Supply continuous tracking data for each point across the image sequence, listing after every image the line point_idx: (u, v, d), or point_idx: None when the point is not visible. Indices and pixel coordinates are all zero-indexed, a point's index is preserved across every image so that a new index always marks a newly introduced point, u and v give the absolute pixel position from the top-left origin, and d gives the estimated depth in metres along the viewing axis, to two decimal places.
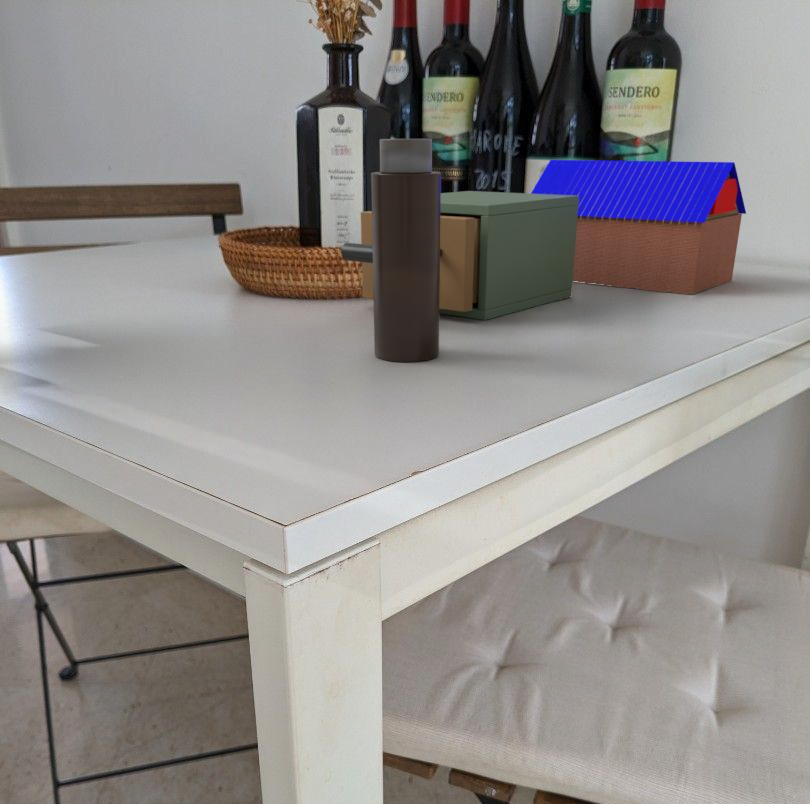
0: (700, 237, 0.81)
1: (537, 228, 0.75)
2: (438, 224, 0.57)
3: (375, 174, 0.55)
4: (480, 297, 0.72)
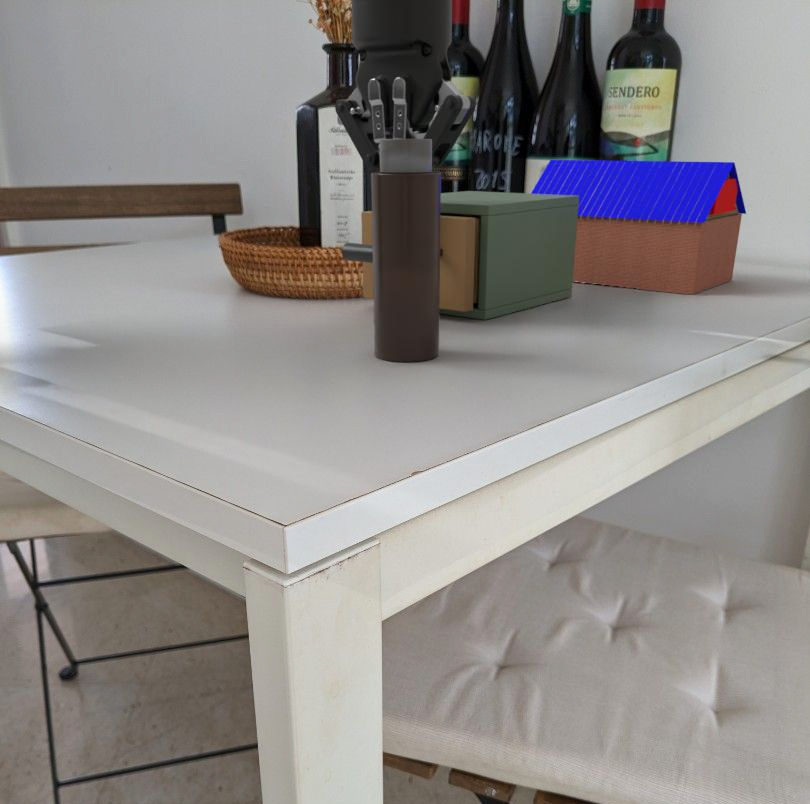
0: (700, 237, 0.81)
1: (537, 228, 0.75)
2: (438, 224, 0.57)
3: (375, 174, 0.55)
4: (480, 297, 0.72)
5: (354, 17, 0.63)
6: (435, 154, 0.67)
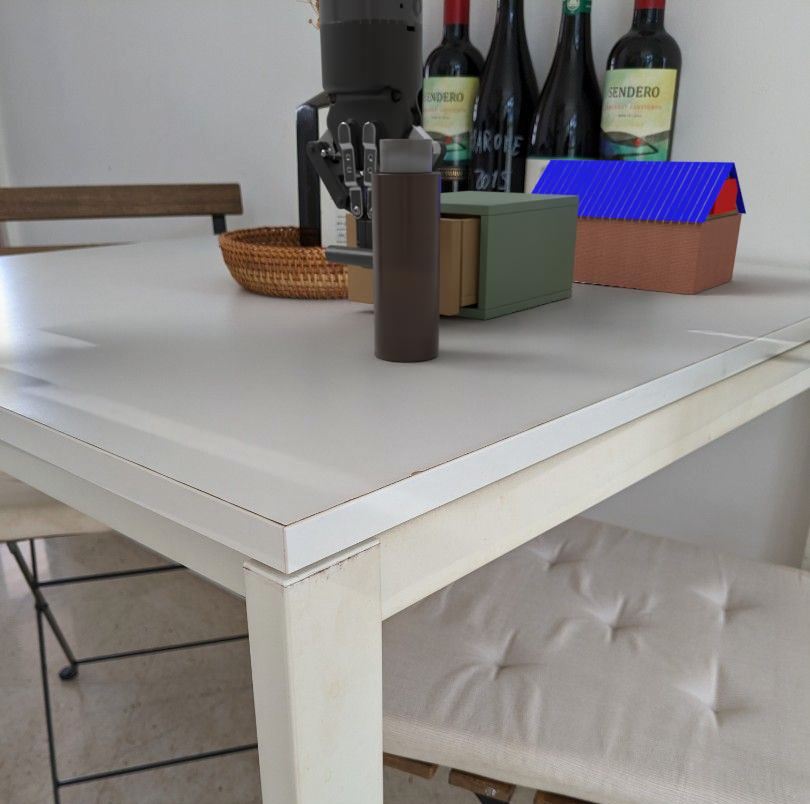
0: (700, 237, 0.81)
1: (537, 228, 0.75)
2: (438, 224, 0.57)
3: (375, 174, 0.55)
4: (480, 297, 0.72)
5: (323, 62, 0.62)
6: None
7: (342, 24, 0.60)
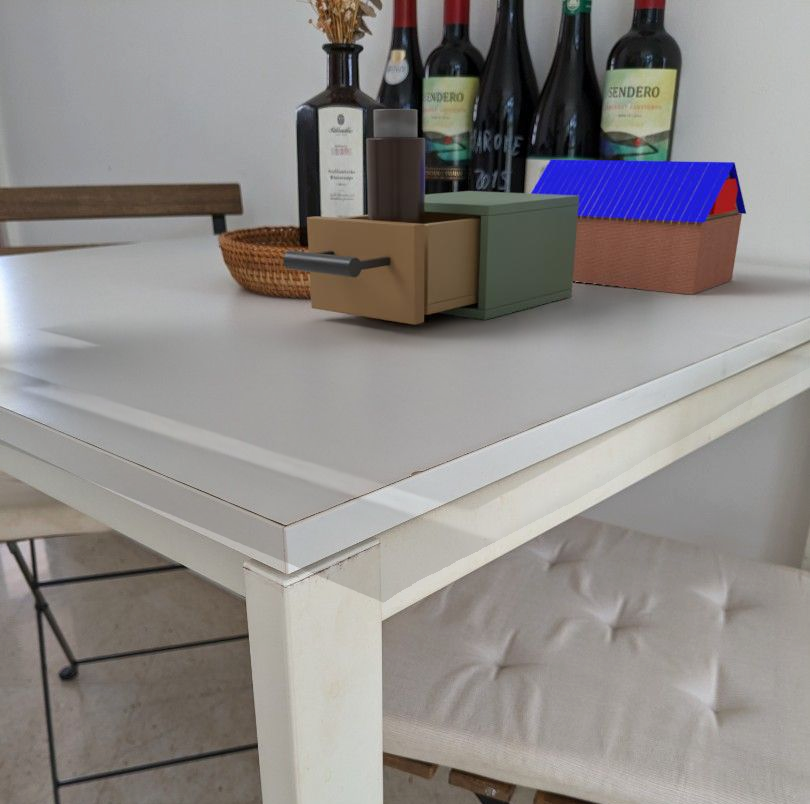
0: (700, 237, 0.81)
1: (537, 228, 0.75)
2: (422, 182, 0.68)
3: (369, 139, 0.66)
4: (480, 297, 0.72)
5: None
6: None
7: None
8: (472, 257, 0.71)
